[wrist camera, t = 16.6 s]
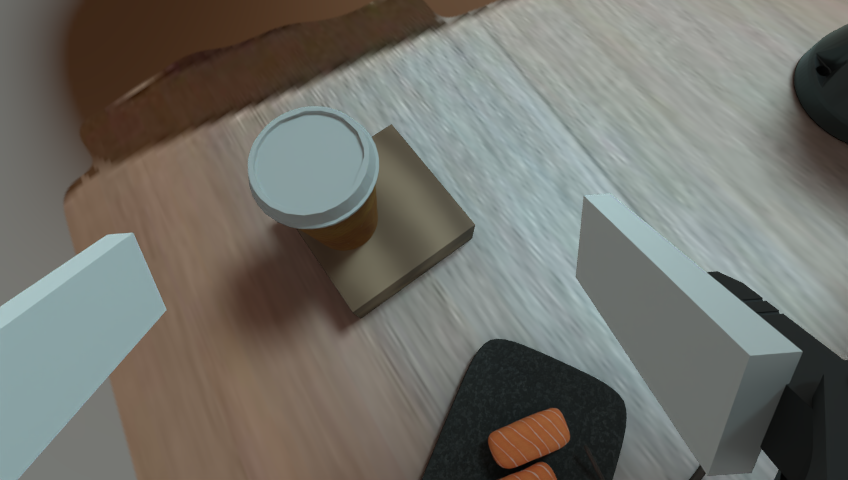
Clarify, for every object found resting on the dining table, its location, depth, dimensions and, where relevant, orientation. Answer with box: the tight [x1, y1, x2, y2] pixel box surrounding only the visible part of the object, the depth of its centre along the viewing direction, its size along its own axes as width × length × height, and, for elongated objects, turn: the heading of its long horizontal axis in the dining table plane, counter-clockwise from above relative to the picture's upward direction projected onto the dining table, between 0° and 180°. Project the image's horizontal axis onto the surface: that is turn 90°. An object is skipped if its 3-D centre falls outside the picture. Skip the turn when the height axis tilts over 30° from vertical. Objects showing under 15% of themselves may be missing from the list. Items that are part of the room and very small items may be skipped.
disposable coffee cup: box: [248, 106, 379, 251], centre depth 35 cm, size 10×10×12 cm
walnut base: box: [296, 124, 475, 318], centre depth 43 cm, size 14×14×4 cm
